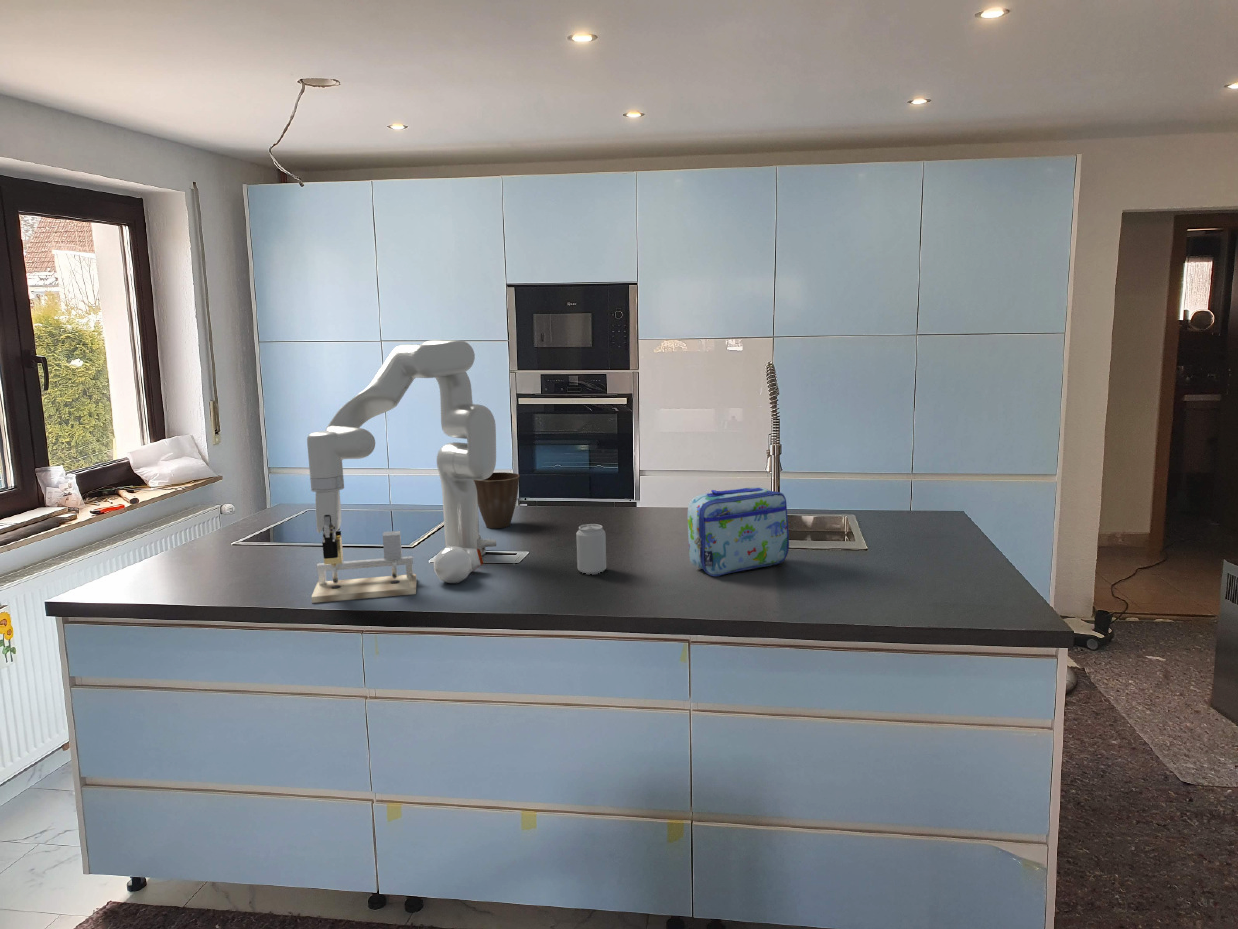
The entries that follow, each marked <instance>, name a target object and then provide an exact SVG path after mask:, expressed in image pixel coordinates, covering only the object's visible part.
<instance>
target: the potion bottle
mask: <svg viewBox="0 0 1238 929" xmlns="http://www.w3.org/2000/svg"><path fill="white" fill-rule="evenodd" d="M444 547H445V546H444ZM442 549H443V550H442ZM442 549H440V551H439V552H438V553H436V555H435V557H434V558H433V572H434V573H435V575H436V576H437V578H438V580H439V581H443V582H444V583H447V584H459V583H460V582H462V581H464V580H465V579H466V578H468V576H469V575H470V574H471V572H474V571H476V570H477V569H479V568H481V566H483V565H484V564H485V563H484V559H483V556H482V555H481V552H480V549H472V548H460V547H456V546H447V547H445V548H442Z"/></svg>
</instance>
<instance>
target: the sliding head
mask: <svg viewBox="0 0 1238 929" xmlns="http://www.w3.org/2000/svg"><path fill="white" fill-rule="evenodd" d="M332 537H333V536H332ZM335 541H337V550H338V557H337V558H328V559H325V558H324V557H323V563H324V565H326V564H332V571H331V576H332V581H333V582H334V583H335V584H336V583H337V582H338V580H339V574H338V570H337V564H339V563H342V562H344V551H343V538H342V534H341V535H336V536H335ZM321 542H323V539H322V541H321Z"/></svg>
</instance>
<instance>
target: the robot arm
mask: <svg viewBox="0 0 1238 929" xmlns="http://www.w3.org/2000/svg"><path fill="white" fill-rule="evenodd" d="M475 355H476V354H475V351H474V348H473V347H472V345H470V344H469V343H468V342H466V341H465V340H461V339H460V340H459V339H431V340H427V341H424V342H422V343H421V344H419V343H417V344H413V343H411V344H399V345H397V346H395V347H394V348H393V349H392V350H391V352H390V353H389V354H388V356H387V357H386V359H385V361H384V362H383V363H382V365H381V366H380V367H379V369H378V371H377V372H376V373H375V375H374V376H373V378H372V380H371V381H370V382H369V384H368V385H367V386H366V387H365V389H363V390H362V391H360V392H359V393H357V394H356V395H355V396H354V397H352V398H351V399H350V400H349V401H347V402H346V403H345V404H344V405H342V407H340V408H339V409H338V410H337V411H336V413H335V415H334V416H333V417H332V418H331V420H330V421H329V423H328V425H327V426H326V428H325V430H322V431H315V432H311V433H310V434H308V436H307V439H306V440H307V441H306V443H307V456H308V458H307V459H308V467H309V468H308V470H309V477H310V479H309V480H310V490H311V492H313V493H315V496H314V497H315V499H314V501H315V519H316V520H315V522H316V532H317V533H318V534H320V533H321V532H322V540H323V542H322V541H321V542H322V553H323V554H322V555H323V559H324V558H325V559H328V558H337V557H338V550H337V541H335V536H336V535H341V536H342V533H341V532H342V531H341V524H342V506H341V505H342V503H341V492H340V491H341V490H344V489H345V481H344V480H345V479H344V466H343V461H344V460H359V459H364V458H367V457H369V456H370V455H371V454H372V453H373V452H374V450H375V447H376V439H375V436H374V435H373V434H372V433H371V432H370V431H369V430H367V429H364V428H361V427H362V425H364V424H365V423H367V422H368V421H369V420H371V419H373V418H374V417H376V416H380V415H382V414H384V413H387V412H389V411H392V410H393V409H394V408H396V407H397V406H398V405H399V403H400V402H401V400H402V399H403V397H404V395H405V394H406V393H407V391H408V390H409V388H410V387H411V385H412V383H413V382H414V380H416V378H417V379H436V382H437V384H438V388H439V396H440V398H439V400H440V425H441V430H442V431H443V434H445V435H446V436H447V437H451V438H456V439H463V440H466V442H449V443H446V444H444V445H443V446H441V448H440V449H439V450H438V452H437V455H436V467H437V471H438V475H439V479H440V484H441V485H440V486H441V493H442V509H443V510H442V511H443V527H444V528H443V529H444V531H443V532H444V544H445V545H444V547H447V546H456V547H460V548H472V549H480V552H481V555H483V556H484V555H485V554H486V553H487V552H486V551H487V550H486V548H487V547H489V548H490V547H491V548H492V547H497V539H492V538H486V539H483V538H481V534H480V524H479V522H480V521H479V507H478V500H477V499H478V498H477V489H476V485H475V482H474V480H485V479H487V478H489V477H490V476H491V475H492V473H495V472H494V471H495V468H496V465H497V464H496V463H497V430H496V429H497V428H496V420H495V416H494V415H493V412H492V411H491V410H490V409H489V408H488V407H486V406H484V405H482V404H478V403H477V404H475V403H473V393H472V392H473V391H472V384H471V380H470V377H469V375H468V373H467V372H468V371H469V370H471V368H472V367H473V365H474V362H475V359H476V358H475V357H476V356H475ZM332 536H333V537H332ZM443 549H444V548H442V549H441V550H443Z"/></svg>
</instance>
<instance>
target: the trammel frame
mask: <svg viewBox="0 0 1238 929" xmlns="http://www.w3.org/2000/svg"><path fill="white" fill-rule="evenodd" d="M382 541H383V542H382V544H383V545H382V546H383V557H384V558H383V557H382V558H373V559H359V560H345V561H344V560H343V561H342V563H339V564H337V571H341V570H342V571H343V570H354V569H357V570H358V569H365V568H366V569H368V568H379V567H380V568H381V567H391V576H392V577H393V578H394V579H395V578H397V575H398V571H397V570H398V568H397V566H404V565H405V570H406V571H405V572H406V574H405V575H407V578H413V574H414V570H413V568H414V567H413V565H414V557H413V556H412V555H410V556H402V555H403V551H402V537H401V530H395V531H394V530H393V531H384V532H383V533H382ZM328 571H329V572H330V571H331V572H332V564H326V565H324V562H320V563H317V564H316V572H317V576H318V582H319V585H326V583H327V582H326V581H327V572H328Z"/></svg>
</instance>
